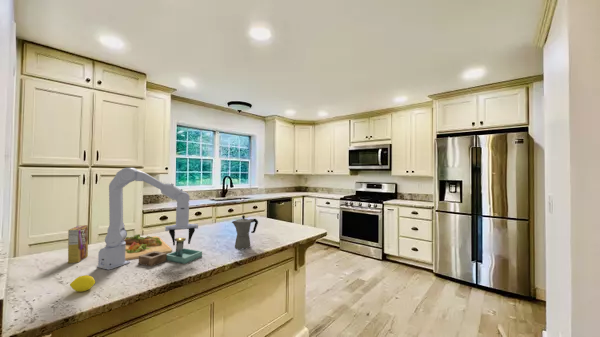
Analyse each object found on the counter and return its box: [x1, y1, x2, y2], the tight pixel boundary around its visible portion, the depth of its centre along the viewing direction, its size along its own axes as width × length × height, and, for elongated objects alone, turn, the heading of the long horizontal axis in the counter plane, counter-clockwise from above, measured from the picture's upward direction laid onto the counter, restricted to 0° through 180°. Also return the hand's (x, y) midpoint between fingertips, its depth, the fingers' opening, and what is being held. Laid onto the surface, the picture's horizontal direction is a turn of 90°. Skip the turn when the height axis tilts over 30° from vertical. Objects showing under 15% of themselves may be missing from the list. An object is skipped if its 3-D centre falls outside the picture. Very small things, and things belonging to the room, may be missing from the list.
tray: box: [166, 247, 203, 265], centre depth 127 cm, size 12×12×2 cm
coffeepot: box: [231, 214, 259, 250], centre depth 148 cm, size 15×9×18 cm, turn 118°
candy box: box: [67, 224, 89, 264], centre depth 120 cm, size 9×4×15 cm, turn 17°
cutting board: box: [124, 234, 173, 261], centre depth 141 cm, size 35×23×8 cm
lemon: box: [69, 274, 96, 293], centre depth 91 cm, size 7×5×5 cm
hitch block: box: [138, 251, 168, 267], centre depth 120 cm, size 8×8×4 cm
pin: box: [175, 237, 187, 257], centre depth 126 cm, size 5×5×9 cm
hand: (181, 244), depth 126 cm, fingers open, 6 cm apart
